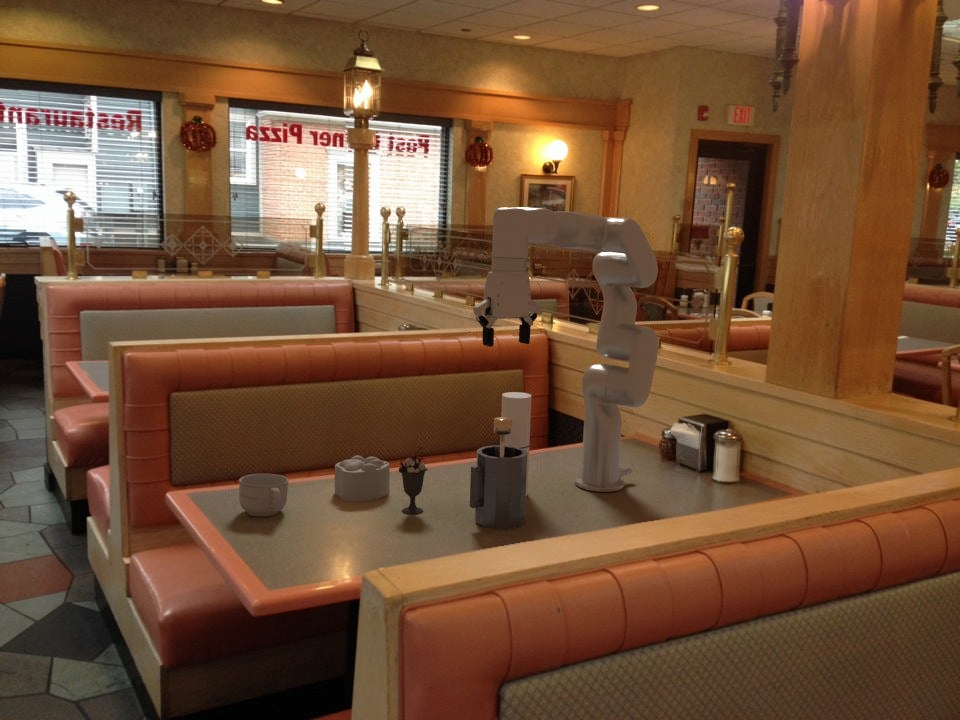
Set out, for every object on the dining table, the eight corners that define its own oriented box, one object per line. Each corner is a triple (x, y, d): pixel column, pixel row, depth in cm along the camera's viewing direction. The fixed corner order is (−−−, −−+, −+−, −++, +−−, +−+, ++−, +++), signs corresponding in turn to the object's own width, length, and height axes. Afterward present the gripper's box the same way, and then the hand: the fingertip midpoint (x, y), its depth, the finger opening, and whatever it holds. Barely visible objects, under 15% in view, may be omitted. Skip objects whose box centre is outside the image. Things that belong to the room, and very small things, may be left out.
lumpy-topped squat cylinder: (330, 491, 214) (331, 456, 213) (379, 484, 221) (379, 451, 219) (346, 503, 205) (347, 468, 204) (397, 496, 212) (397, 461, 210)
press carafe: (505, 509, 204) (507, 443, 202) (533, 523, 195) (536, 454, 193) (457, 518, 197) (459, 450, 194) (484, 534, 188) (487, 462, 185)
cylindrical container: (525, 499, 212) (529, 399, 208) (496, 496, 213) (499, 396, 209) (529, 490, 219) (533, 393, 215) (501, 488, 220) (504, 391, 216)
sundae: (431, 508, 203) (432, 446, 201) (420, 517, 197) (421, 453, 195) (405, 504, 205) (406, 443, 203) (393, 513, 199) (394, 450, 197)
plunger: (503, 503, 202) (507, 414, 198) (523, 513, 196) (527, 421, 192) (476, 509, 197) (479, 417, 194) (495, 519, 191) (499, 424, 188)
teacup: (236, 507, 200) (235, 473, 199) (283, 502, 204) (283, 469, 203) (245, 527, 188) (244, 492, 186) (295, 522, 192) (295, 487, 191)
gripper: (530, 264, 195) (527, 340, 198) (465, 265, 186) (463, 344, 189) (551, 266, 189) (548, 344, 192) (485, 267, 180) (483, 349, 183)
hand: (506, 344), depth 190 cm, fingers open, 9 cm apart
